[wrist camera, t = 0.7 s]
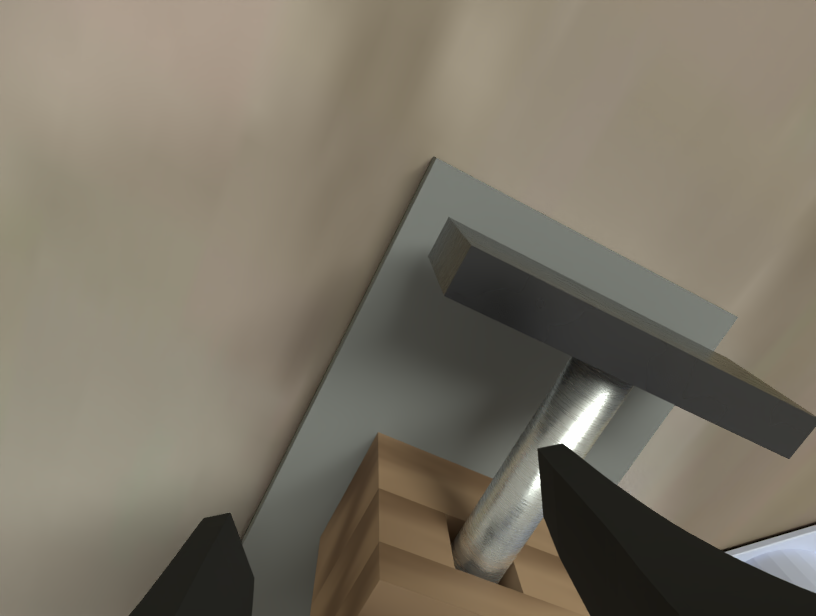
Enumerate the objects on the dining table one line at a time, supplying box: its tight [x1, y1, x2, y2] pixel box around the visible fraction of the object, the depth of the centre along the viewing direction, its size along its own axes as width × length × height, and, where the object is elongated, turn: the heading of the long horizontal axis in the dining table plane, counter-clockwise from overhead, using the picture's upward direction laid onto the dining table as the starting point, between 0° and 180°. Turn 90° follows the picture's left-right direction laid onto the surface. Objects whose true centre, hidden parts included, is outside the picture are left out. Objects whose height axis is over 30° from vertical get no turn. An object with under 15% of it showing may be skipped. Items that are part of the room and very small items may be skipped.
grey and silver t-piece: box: [428, 217, 816, 584], centre depth 20 cm, size 22×12×4 cm, turn 153°
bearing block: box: [310, 432, 590, 616], centre depth 21 cm, size 6×8×8 cm
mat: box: [241, 157, 738, 616], centre depth 24 cm, size 26×14×1 cm, turn 153°
